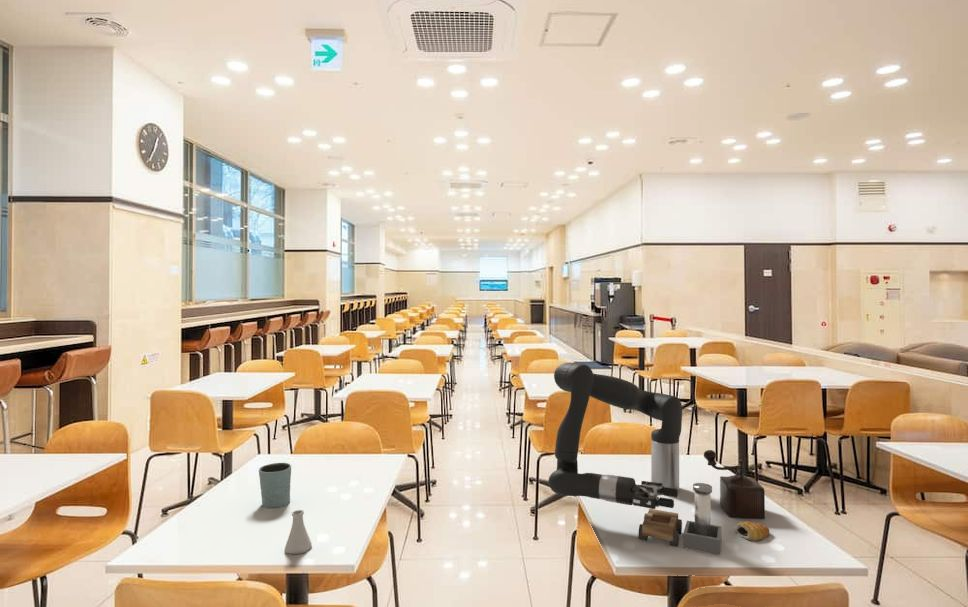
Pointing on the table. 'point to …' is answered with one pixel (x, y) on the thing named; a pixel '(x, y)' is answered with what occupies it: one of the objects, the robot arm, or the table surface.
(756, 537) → the pastry
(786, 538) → the table surface
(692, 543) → the tray
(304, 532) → the flask
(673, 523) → the trolley
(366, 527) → the table surface
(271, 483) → the grey cup
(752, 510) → the manual coffee grinder
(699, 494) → the pin
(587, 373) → the robot arm
